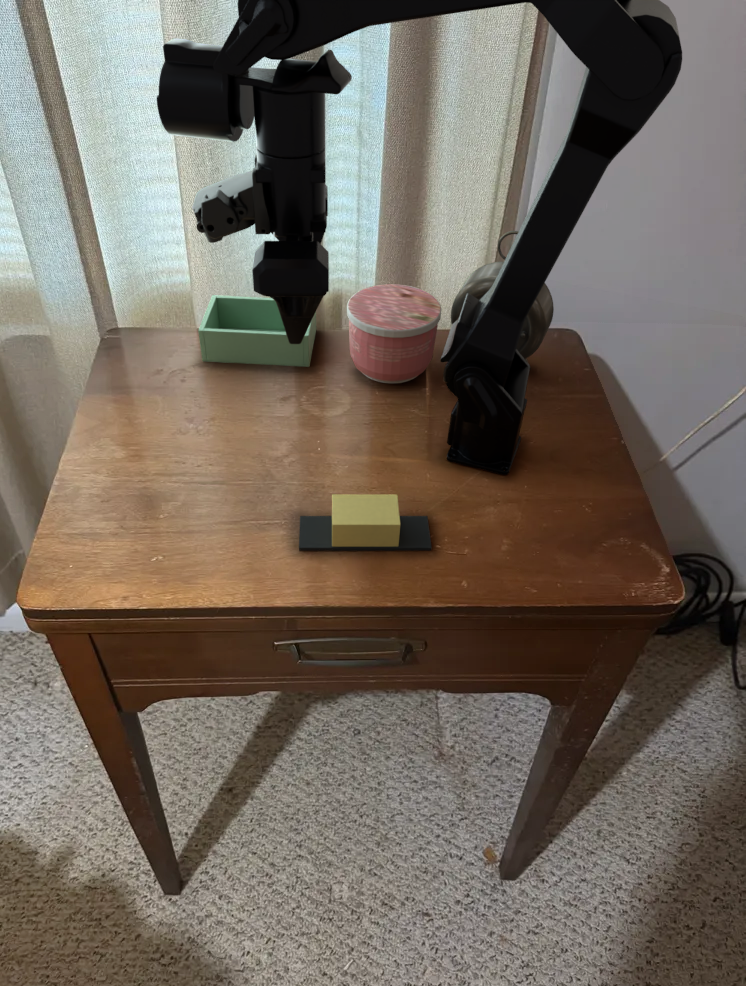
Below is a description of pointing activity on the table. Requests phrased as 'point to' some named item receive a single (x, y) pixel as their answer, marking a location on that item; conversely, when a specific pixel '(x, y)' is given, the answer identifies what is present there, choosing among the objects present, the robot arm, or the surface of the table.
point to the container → (392, 331)
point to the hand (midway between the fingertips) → (296, 318)
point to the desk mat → (319, 538)
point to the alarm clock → (535, 319)
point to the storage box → (250, 333)
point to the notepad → (365, 520)
